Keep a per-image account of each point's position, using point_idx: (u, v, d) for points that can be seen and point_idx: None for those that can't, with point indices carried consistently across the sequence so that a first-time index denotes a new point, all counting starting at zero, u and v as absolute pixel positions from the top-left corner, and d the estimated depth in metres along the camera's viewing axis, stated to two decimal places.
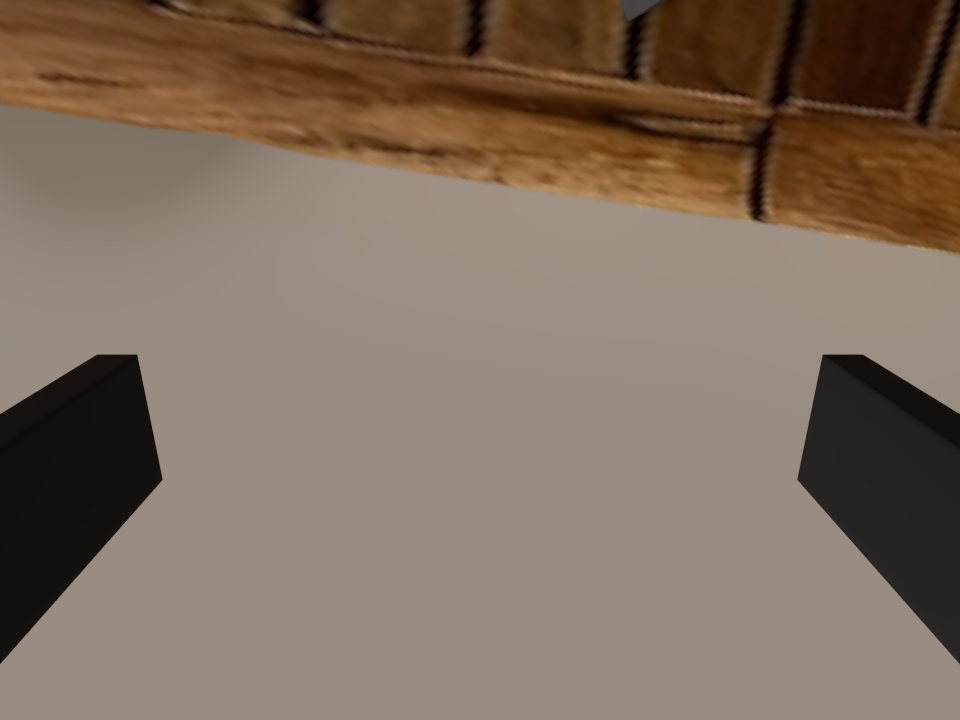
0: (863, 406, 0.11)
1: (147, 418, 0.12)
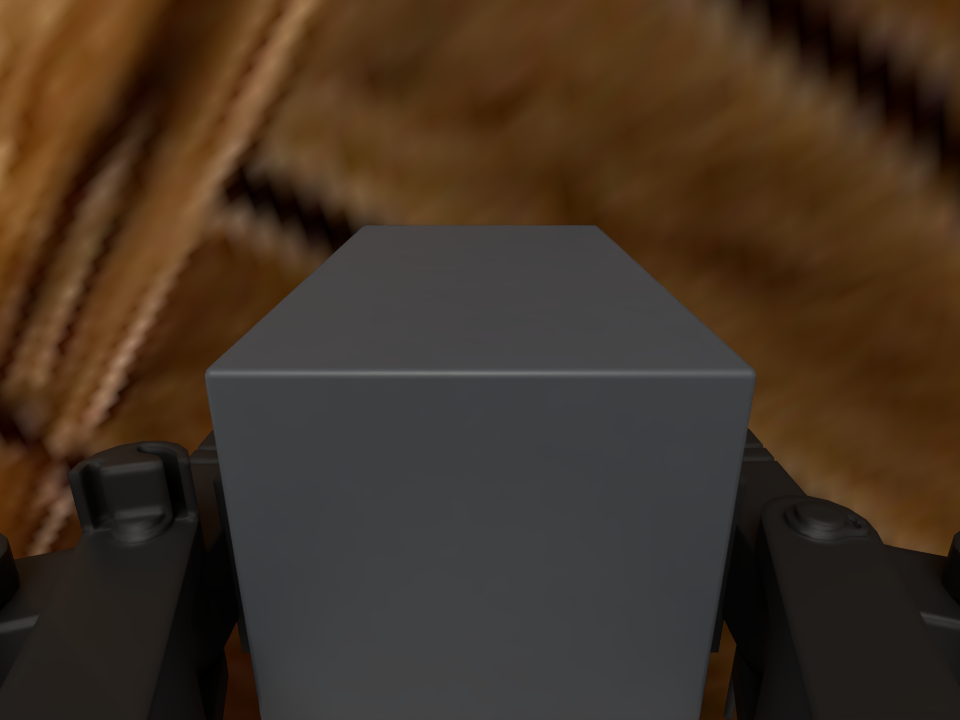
0: None
1: None
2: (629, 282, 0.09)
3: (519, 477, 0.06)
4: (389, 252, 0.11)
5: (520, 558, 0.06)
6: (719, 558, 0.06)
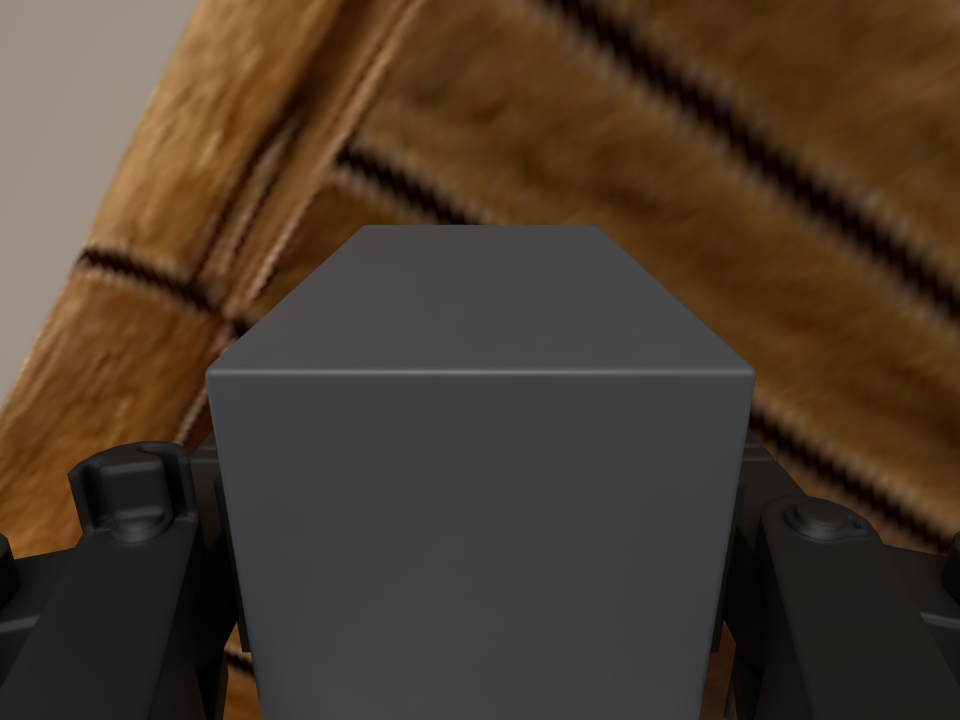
0: None
1: None
2: (629, 281, 0.09)
3: (519, 475, 0.06)
4: (389, 251, 0.11)
5: (519, 558, 0.06)
6: (719, 557, 0.06)
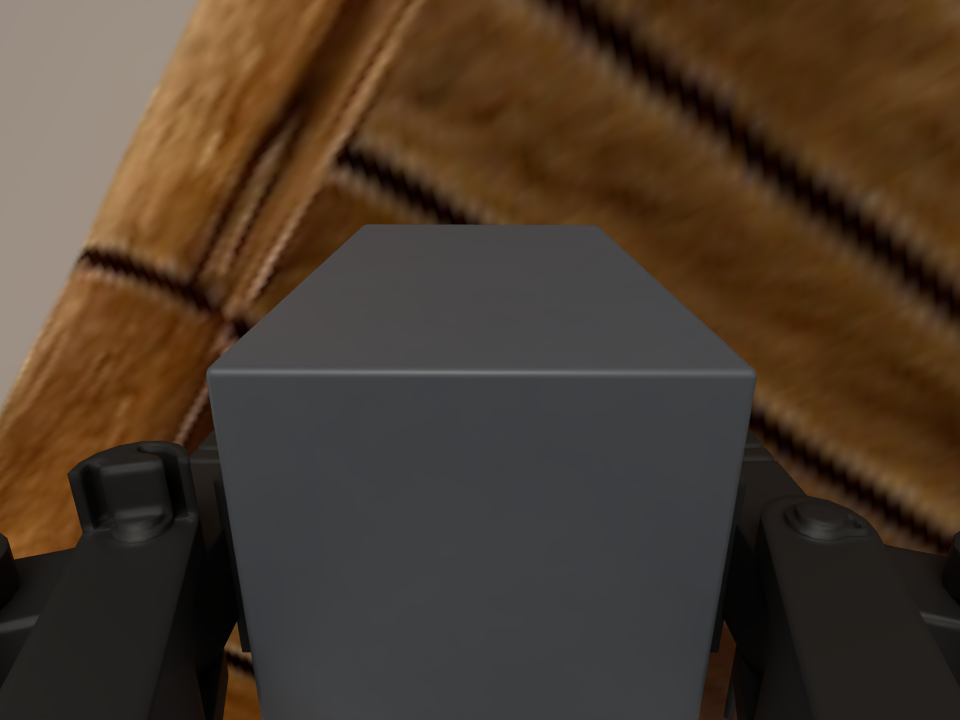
0: None
1: None
2: (630, 282, 0.09)
3: (520, 476, 0.06)
4: (390, 251, 0.11)
5: (520, 557, 0.06)
6: (719, 558, 0.06)
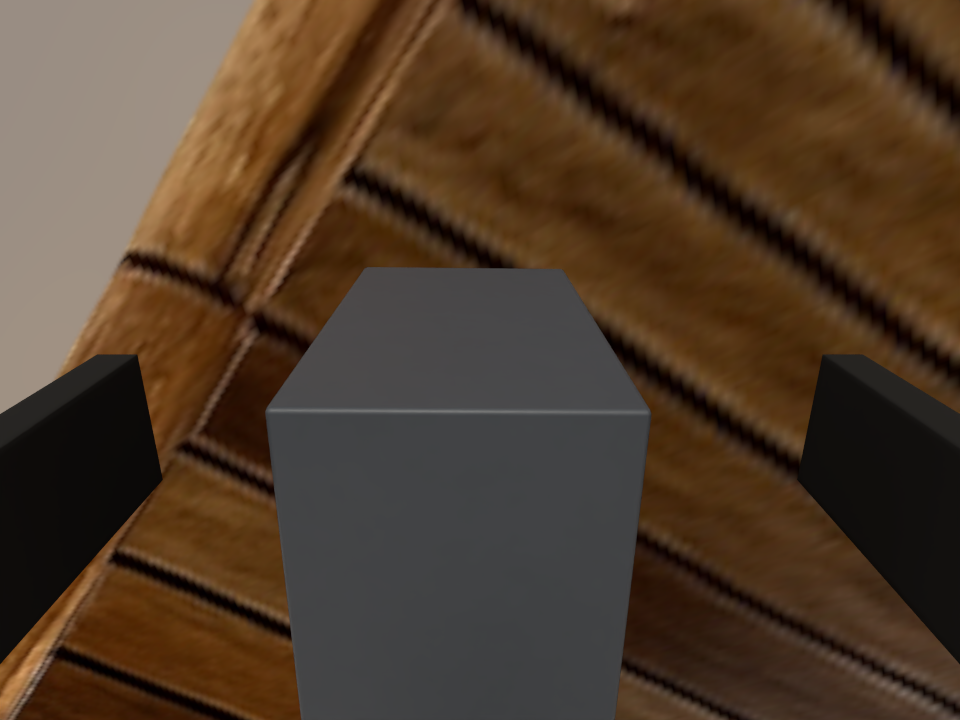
0: (863, 406, 0.11)
1: (147, 418, 0.12)
2: (578, 331, 0.11)
3: (487, 484, 0.09)
4: (389, 298, 0.13)
5: (487, 543, 0.09)
6: (630, 542, 0.09)
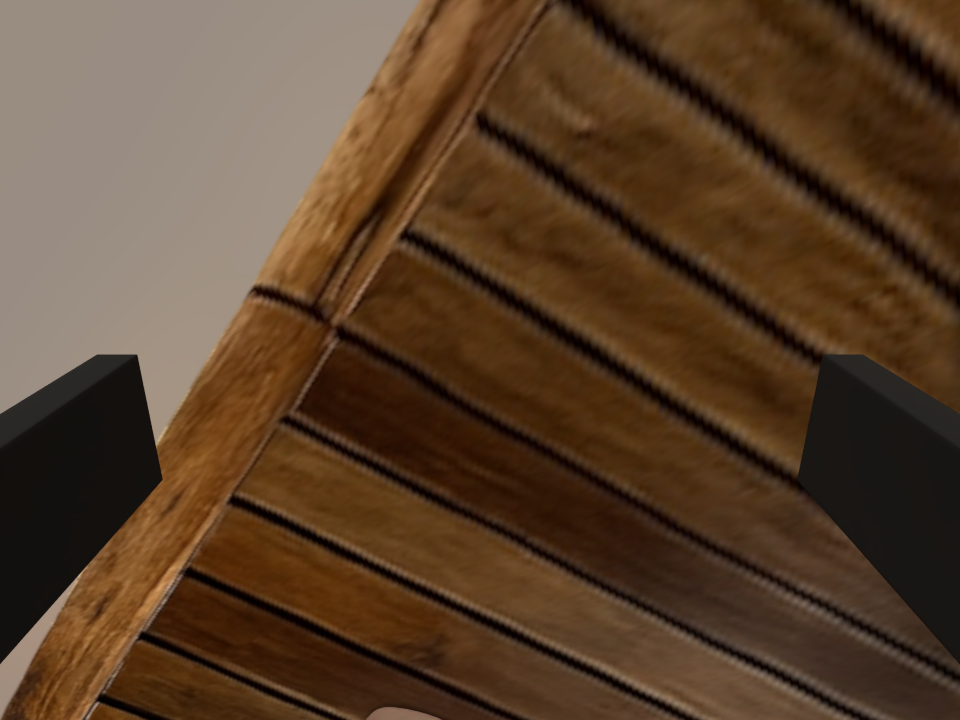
0: (863, 406, 0.11)
1: (147, 418, 0.12)
2: None
3: None
4: None
5: None
6: None
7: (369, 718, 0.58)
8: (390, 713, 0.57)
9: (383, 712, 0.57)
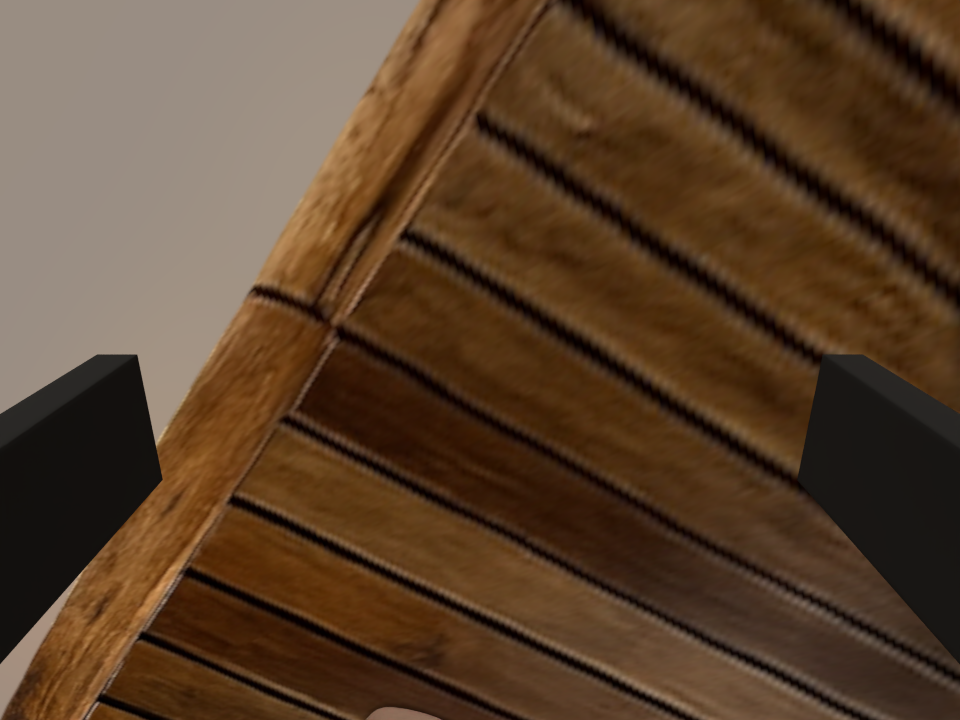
0: (863, 406, 0.11)
1: (147, 418, 0.12)
2: None
3: None
4: None
5: None
6: None
7: (369, 718, 0.58)
8: (390, 713, 0.57)
9: (383, 712, 0.57)
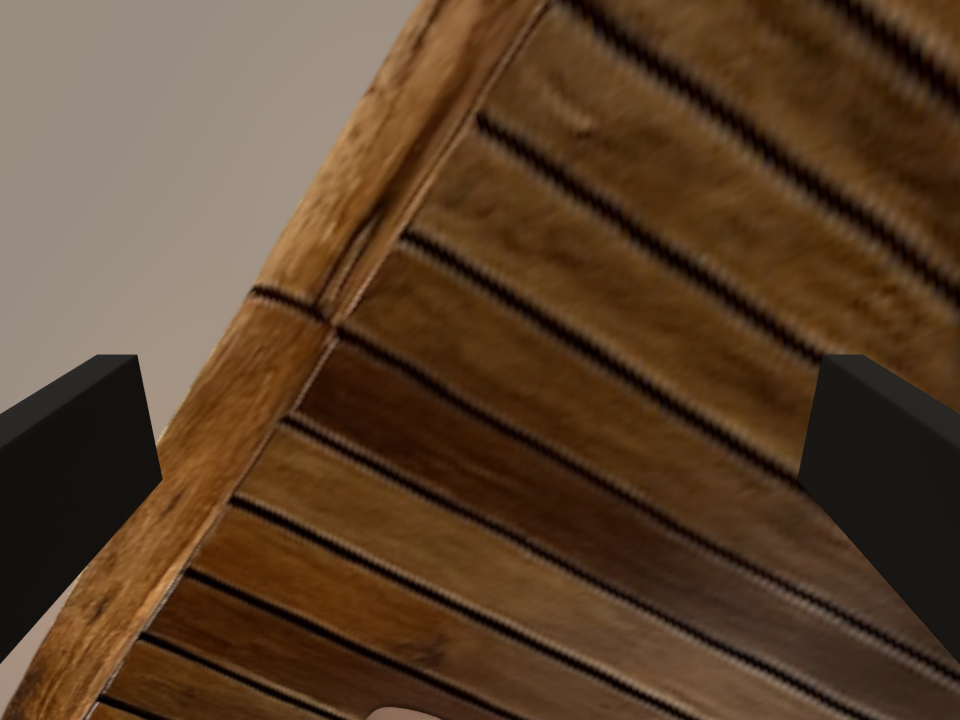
0: (863, 406, 0.11)
1: (147, 418, 0.12)
2: None
3: None
4: None
5: None
6: None
7: (369, 718, 0.58)
8: (390, 713, 0.57)
9: (383, 712, 0.57)
